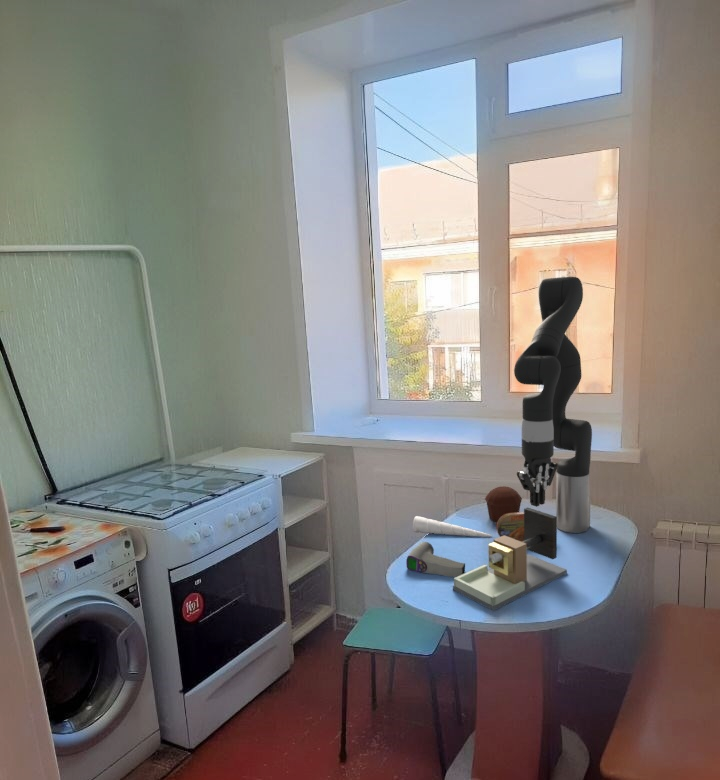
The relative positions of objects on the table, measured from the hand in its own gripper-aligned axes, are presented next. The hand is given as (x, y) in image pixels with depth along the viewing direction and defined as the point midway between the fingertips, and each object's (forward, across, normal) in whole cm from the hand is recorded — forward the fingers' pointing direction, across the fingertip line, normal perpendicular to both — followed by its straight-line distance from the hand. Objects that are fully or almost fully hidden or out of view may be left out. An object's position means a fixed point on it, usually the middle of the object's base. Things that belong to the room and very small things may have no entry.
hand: (537, 504), depth 150 cm
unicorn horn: (+20, -3, -34) cm, 40 cm away
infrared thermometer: (+20, +14, -21) cm, 32 cm away
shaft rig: (+19, +8, -2) cm, 21 cm away
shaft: (+15, +4, -3) cm, 16 cm away
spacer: (+15, +11, -2) cm, 19 cm away
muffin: (+19, -23, -31) cm, 43 cm away
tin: (+19, -14, -16) cm, 29 cm away
